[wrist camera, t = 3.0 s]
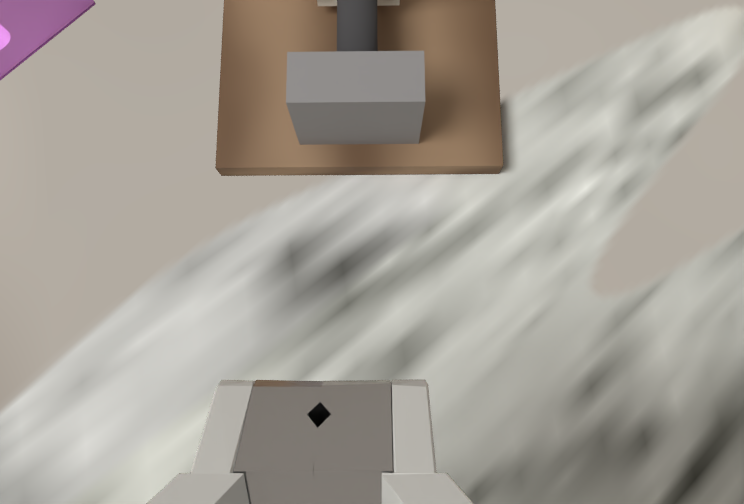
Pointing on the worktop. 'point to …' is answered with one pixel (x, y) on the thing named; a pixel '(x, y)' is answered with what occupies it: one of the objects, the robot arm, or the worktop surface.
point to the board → (394, 33)
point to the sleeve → (381, 1)
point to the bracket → (33, 27)
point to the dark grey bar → (356, 86)
